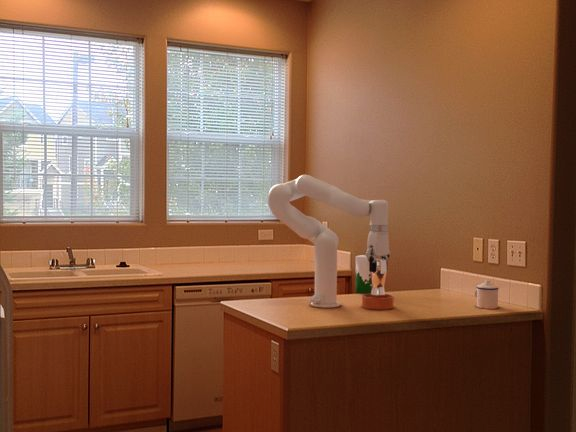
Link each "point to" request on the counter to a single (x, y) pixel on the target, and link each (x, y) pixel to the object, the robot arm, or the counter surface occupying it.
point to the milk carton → (363, 275)
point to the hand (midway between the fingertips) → (378, 270)
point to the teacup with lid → (487, 295)
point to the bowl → (377, 301)
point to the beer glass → (379, 278)
